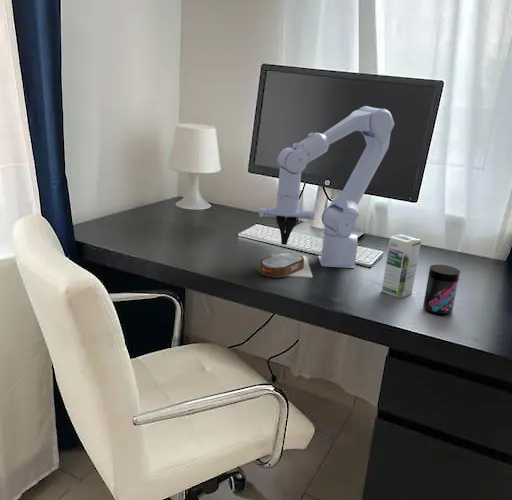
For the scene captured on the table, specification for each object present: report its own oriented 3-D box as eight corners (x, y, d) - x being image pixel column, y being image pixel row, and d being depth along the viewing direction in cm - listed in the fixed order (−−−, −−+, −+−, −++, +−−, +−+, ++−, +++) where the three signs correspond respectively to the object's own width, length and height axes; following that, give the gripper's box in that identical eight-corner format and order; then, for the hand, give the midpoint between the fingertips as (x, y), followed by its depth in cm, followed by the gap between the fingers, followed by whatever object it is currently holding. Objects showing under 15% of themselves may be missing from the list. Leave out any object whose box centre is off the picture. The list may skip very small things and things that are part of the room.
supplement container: (419, 312, 129) (427, 270, 125) (424, 302, 135) (432, 262, 131) (449, 319, 126) (458, 277, 123) (453, 309, 132) (462, 268, 129)
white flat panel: (306, 257, 161) (306, 256, 160) (312, 277, 145) (312, 276, 145) (271, 255, 160) (271, 254, 160) (274, 275, 145) (274, 274, 145)
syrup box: (380, 291, 139) (388, 236, 135) (393, 286, 143) (401, 232, 139) (400, 299, 136) (409, 242, 131) (412, 293, 140) (422, 238, 135)
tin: (252, 271, 146) (278, 282, 141) (253, 260, 145) (279, 270, 140) (284, 258, 157) (309, 268, 153) (285, 248, 156) (310, 257, 152)
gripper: (313, 193, 151) (308, 240, 155) (260, 189, 150) (257, 237, 154) (317, 198, 144) (311, 248, 148) (261, 195, 143) (257, 245, 147)
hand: (284, 243), depth 151 cm, fingers closed
